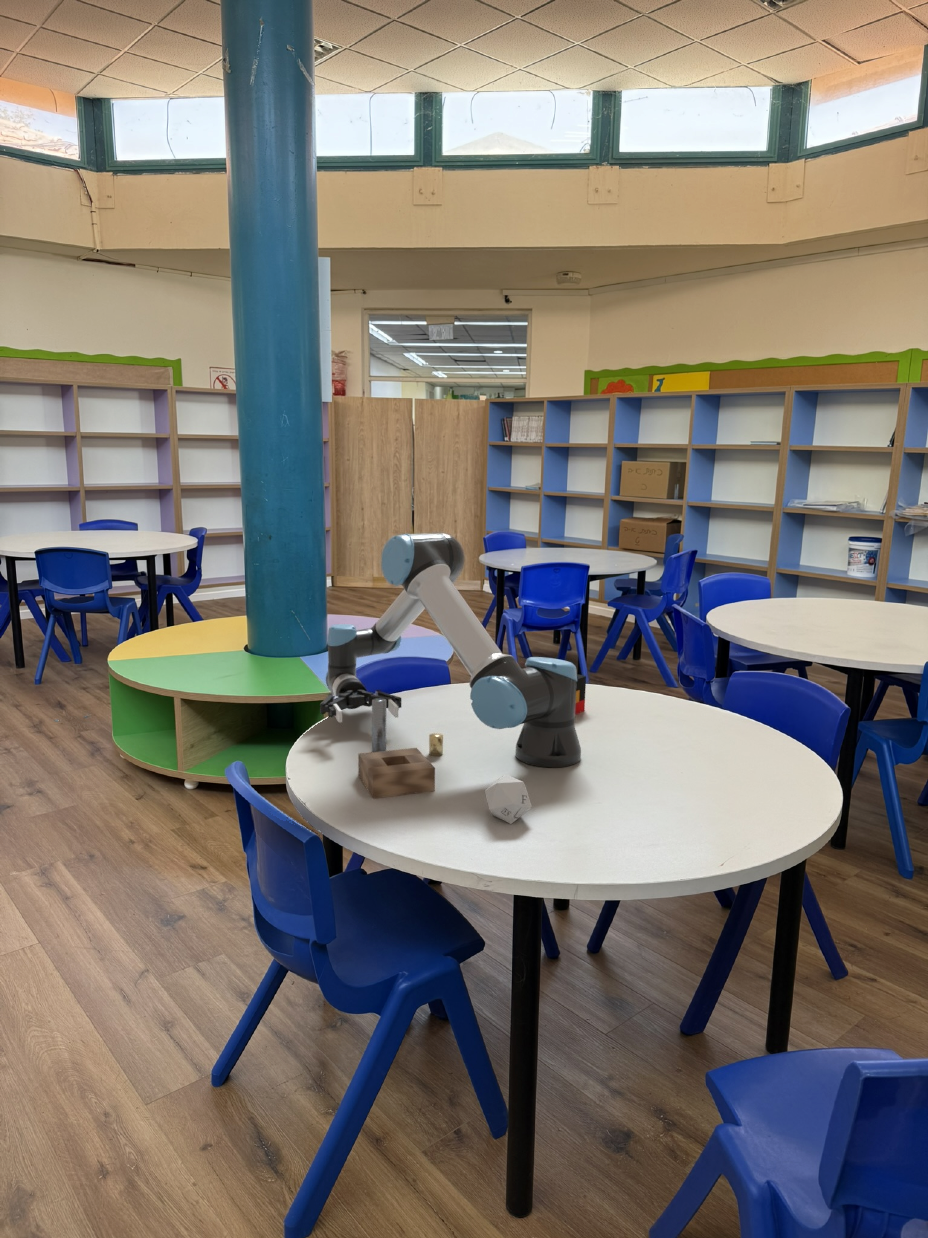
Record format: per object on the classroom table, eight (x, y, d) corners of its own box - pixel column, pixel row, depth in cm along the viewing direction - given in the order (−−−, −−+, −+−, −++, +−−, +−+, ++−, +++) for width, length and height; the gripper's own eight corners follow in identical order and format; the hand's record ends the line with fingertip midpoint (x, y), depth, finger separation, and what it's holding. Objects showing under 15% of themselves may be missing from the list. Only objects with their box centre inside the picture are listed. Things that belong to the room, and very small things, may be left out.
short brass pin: (445, 753, 192) (445, 734, 191) (437, 757, 189) (437, 738, 188) (434, 750, 193) (434, 732, 193) (426, 754, 191) (426, 735, 190)
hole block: (416, 769, 181) (416, 747, 180) (434, 791, 169) (434, 767, 168) (358, 775, 176) (358, 753, 176) (373, 798, 164) (373, 774, 164)
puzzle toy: (566, 718, 221) (567, 682, 219) (534, 711, 227) (536, 676, 225) (584, 710, 228) (586, 676, 227) (553, 704, 234) (554, 670, 233)
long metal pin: (389, 759, 187) (389, 699, 185) (380, 763, 184) (380, 703, 182) (378, 756, 189) (378, 697, 186) (369, 760, 186) (369, 700, 184)
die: (487, 831, 152) (519, 797, 149) (468, 795, 158) (499, 761, 154) (516, 835, 157) (548, 802, 154) (498, 800, 163) (527, 767, 160)
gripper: (396, 701, 218) (419, 725, 199) (301, 709, 210) (316, 734, 190) (396, 674, 217) (419, 695, 197) (301, 680, 208) (316, 703, 189)
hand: (369, 714), depth 194 cm, fingers open, 13 cm apart
